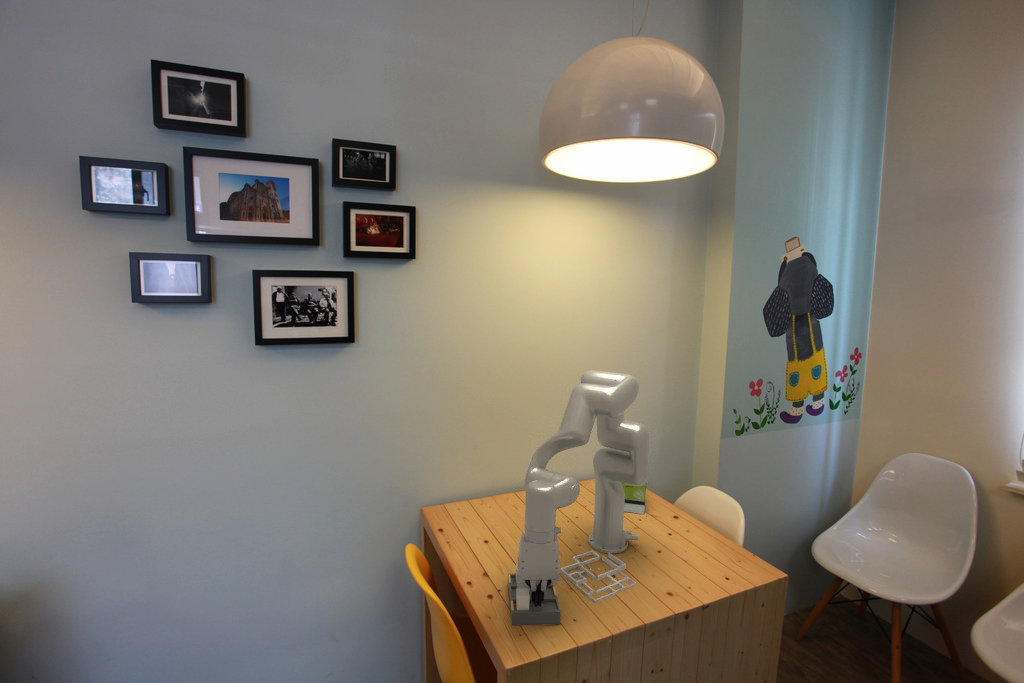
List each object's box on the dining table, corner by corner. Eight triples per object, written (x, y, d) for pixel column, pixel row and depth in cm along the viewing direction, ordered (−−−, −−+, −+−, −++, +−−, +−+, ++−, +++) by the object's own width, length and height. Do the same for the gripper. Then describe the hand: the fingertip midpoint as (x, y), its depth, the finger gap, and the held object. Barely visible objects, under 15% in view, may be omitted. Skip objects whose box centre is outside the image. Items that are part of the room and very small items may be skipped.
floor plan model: (587, 543, 152) (587, 537, 151) (645, 583, 130) (645, 577, 130) (540, 558, 142) (541, 552, 142) (594, 605, 121) (595, 597, 121)
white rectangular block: (526, 577, 126) (526, 563, 126) (527, 583, 124) (527, 569, 123) (515, 577, 126) (515, 563, 126) (516, 584, 123) (516, 569, 123)
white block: (528, 589, 121) (528, 575, 121) (529, 597, 118) (529, 582, 118) (517, 589, 121) (517, 575, 120) (517, 597, 118) (518, 582, 117)
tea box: (604, 510, 175) (605, 472, 174) (604, 499, 185) (606, 463, 184) (644, 515, 172) (646, 476, 171) (643, 503, 182) (645, 467, 180)
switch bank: (550, 584, 128) (551, 572, 128) (560, 624, 112) (560, 610, 112) (507, 584, 127) (508, 572, 127) (511, 625, 112) (511, 611, 111)
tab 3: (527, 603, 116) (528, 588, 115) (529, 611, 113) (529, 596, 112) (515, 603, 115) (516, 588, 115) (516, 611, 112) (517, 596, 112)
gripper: (567, 524, 117) (564, 593, 118) (508, 525, 116) (506, 594, 117) (572, 540, 109) (569, 612, 111) (510, 540, 108) (508, 614, 110)
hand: (537, 602), depth 114 cm, fingers closed
